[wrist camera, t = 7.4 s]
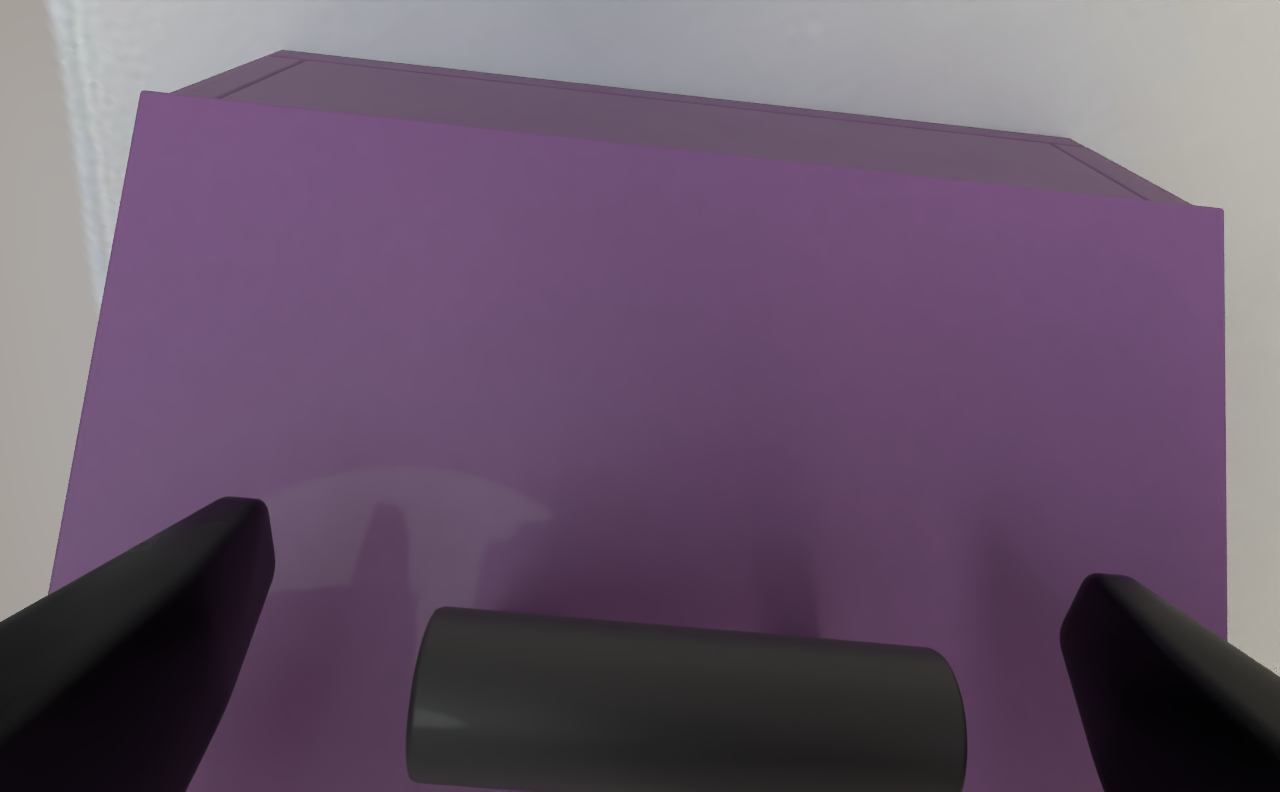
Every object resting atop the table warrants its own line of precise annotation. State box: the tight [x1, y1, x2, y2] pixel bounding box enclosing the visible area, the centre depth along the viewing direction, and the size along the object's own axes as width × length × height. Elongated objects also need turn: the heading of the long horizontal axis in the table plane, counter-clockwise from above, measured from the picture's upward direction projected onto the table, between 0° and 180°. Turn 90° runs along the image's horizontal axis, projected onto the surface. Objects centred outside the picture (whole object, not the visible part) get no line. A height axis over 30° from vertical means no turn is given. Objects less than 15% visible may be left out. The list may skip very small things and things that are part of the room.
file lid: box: [48, 91, 1227, 792], centre depth 10 cm, size 14×17×5 cm
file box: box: [171, 50, 1192, 205], centre depth 19 cm, size 14×17×5 cm
